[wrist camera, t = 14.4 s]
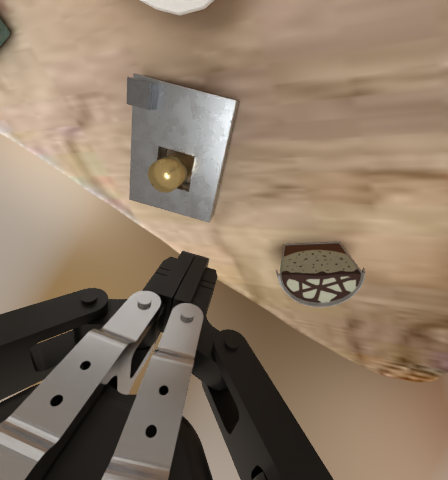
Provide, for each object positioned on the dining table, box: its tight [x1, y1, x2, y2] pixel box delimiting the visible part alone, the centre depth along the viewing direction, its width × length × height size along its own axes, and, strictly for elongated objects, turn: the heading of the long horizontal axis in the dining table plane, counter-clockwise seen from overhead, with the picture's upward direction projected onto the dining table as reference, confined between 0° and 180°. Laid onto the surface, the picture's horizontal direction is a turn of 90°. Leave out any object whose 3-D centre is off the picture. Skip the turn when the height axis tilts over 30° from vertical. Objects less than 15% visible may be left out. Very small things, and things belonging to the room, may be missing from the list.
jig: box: [127, 74, 239, 222], centre depth 37 cm, size 18×14×6 cm
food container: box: [276, 242, 365, 307], centre depth 40 cm, size 12×6×10 cm, turn 98°
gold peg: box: [148, 152, 194, 193], centre depth 37 cm, size 4×4×8 cm
